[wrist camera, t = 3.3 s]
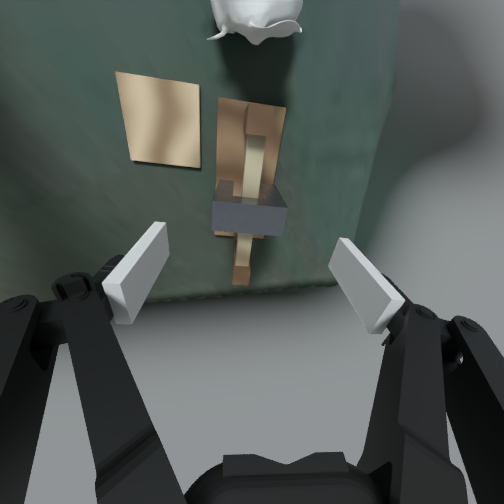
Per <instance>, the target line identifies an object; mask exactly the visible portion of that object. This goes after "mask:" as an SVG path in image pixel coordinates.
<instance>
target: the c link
mask: <svg viewBox="0 0 504 504" xmlns="http://www.w3.org/2000/svg"><path fill="white" fill-rule="evenodd" d="M233 188H234V181H232V180H223V179H219V182H218V185H217V188H216V191H215V194H214V197H213V200H212V231H223V232H235V233H247V234H259V235H272V236H282V233H283V229H284V224H285V220H286V215H287V211H288V207H287V205H286V203H285V202H284V200H283V198H282V196H281V195H280V193H279V191H278V189H277V187H276V186H275V185H268V184H261V189H260V196H259V198H250V197H240V196H233Z"/></svg>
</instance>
